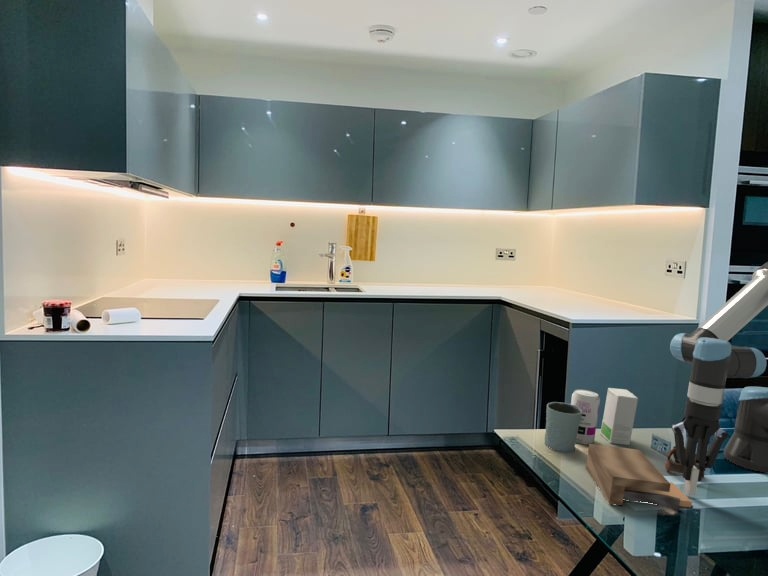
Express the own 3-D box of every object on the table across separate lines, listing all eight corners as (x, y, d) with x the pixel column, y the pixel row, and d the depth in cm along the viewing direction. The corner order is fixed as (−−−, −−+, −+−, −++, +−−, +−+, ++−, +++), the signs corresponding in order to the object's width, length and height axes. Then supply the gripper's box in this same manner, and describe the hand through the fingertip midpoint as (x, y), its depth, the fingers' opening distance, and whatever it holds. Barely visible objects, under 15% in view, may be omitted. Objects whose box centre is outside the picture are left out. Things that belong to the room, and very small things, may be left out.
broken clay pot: (713, 484, 146) (707, 461, 144) (677, 494, 148) (671, 471, 145) (691, 455, 157) (685, 433, 155) (658, 465, 159) (652, 443, 156)
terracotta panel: (671, 489, 141) (672, 482, 141) (690, 509, 131) (691, 501, 131) (608, 482, 142) (609, 474, 141) (622, 501, 132) (624, 493, 131)
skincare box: (599, 433, 176) (606, 387, 175) (620, 435, 176) (627, 389, 175) (610, 444, 168) (617, 395, 166) (631, 445, 168) (638, 397, 166)
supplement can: (588, 436, 173) (595, 390, 172) (597, 446, 165) (604, 398, 163) (563, 433, 174) (569, 387, 172) (570, 443, 165) (577, 395, 164)
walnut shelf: (650, 476, 146) (654, 451, 146) (683, 514, 127) (688, 486, 126) (585, 468, 148) (589, 443, 147) (608, 504, 128) (612, 476, 127)
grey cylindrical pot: (567, 440, 168) (572, 402, 167) (583, 454, 158) (589, 414, 157) (536, 439, 166) (541, 401, 165) (551, 453, 156) (556, 412, 155)
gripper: (724, 399, 136) (709, 488, 139) (670, 393, 138) (656, 482, 140) (740, 409, 129) (724, 503, 132) (683, 402, 130) (668, 496, 133)
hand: (689, 492), depth 136 cm, fingers closed
